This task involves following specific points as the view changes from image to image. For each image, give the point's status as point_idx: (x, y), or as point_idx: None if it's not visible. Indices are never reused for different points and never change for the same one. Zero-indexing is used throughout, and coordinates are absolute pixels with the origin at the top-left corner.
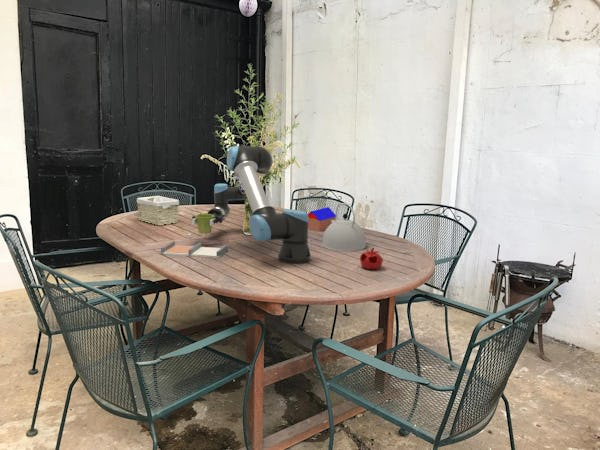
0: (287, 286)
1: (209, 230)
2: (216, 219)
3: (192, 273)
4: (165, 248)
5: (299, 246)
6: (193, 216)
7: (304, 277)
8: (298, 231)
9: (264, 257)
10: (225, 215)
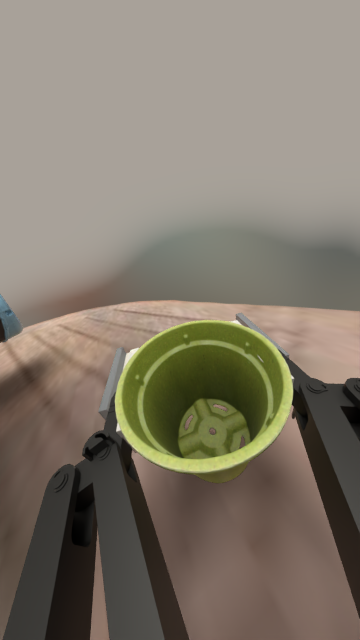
0: (44, 330)
1: (174, 416)
2: (109, 434)
3: (143, 309)
4: (241, 322)
5: None
6: (357, 384)
7: (6, 355)
8: None
9: (14, 412)
10: None
